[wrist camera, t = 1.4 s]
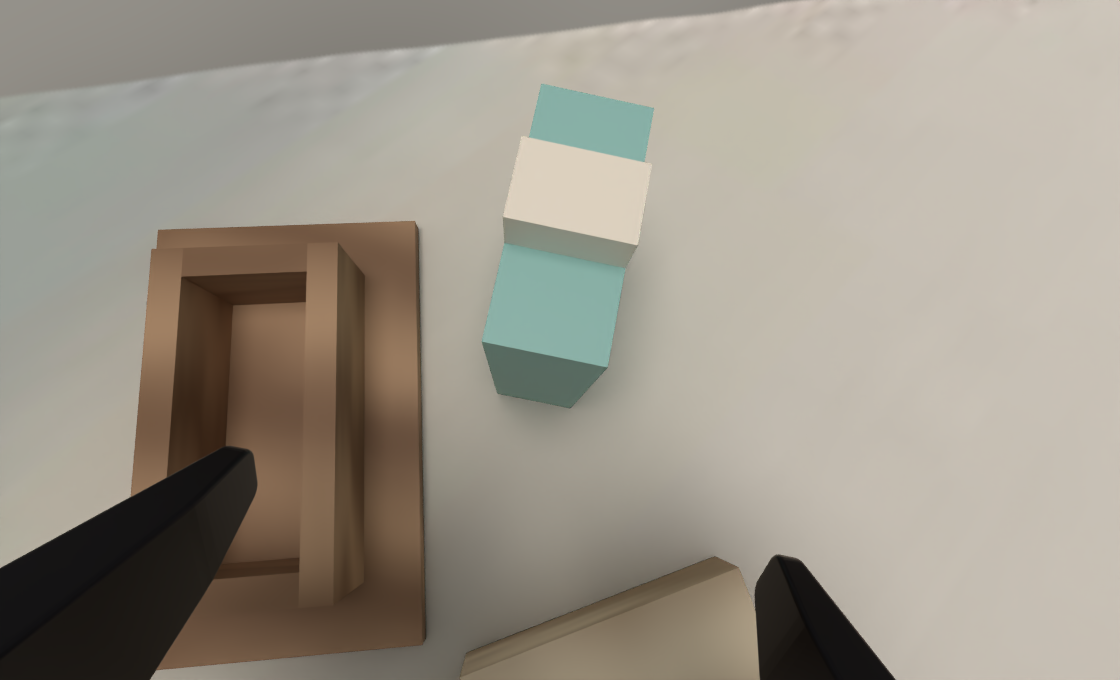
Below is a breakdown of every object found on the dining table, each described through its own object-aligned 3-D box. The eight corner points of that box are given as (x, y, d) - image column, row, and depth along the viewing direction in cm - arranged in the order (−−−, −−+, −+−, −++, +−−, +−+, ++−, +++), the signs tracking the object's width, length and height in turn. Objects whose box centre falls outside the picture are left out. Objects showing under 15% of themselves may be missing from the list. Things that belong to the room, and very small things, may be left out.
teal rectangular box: (570, 408, 23) (618, 355, 12) (497, 393, 23) (476, 326, 12) (600, 248, 25) (668, 69, 14) (532, 234, 25) (543, 41, 13)
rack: (425, 638, 21) (402, 681, 17) (136, 665, 20) (36, 718, 16) (418, 228, 24) (397, 179, 20) (170, 237, 23) (94, 188, 19)
